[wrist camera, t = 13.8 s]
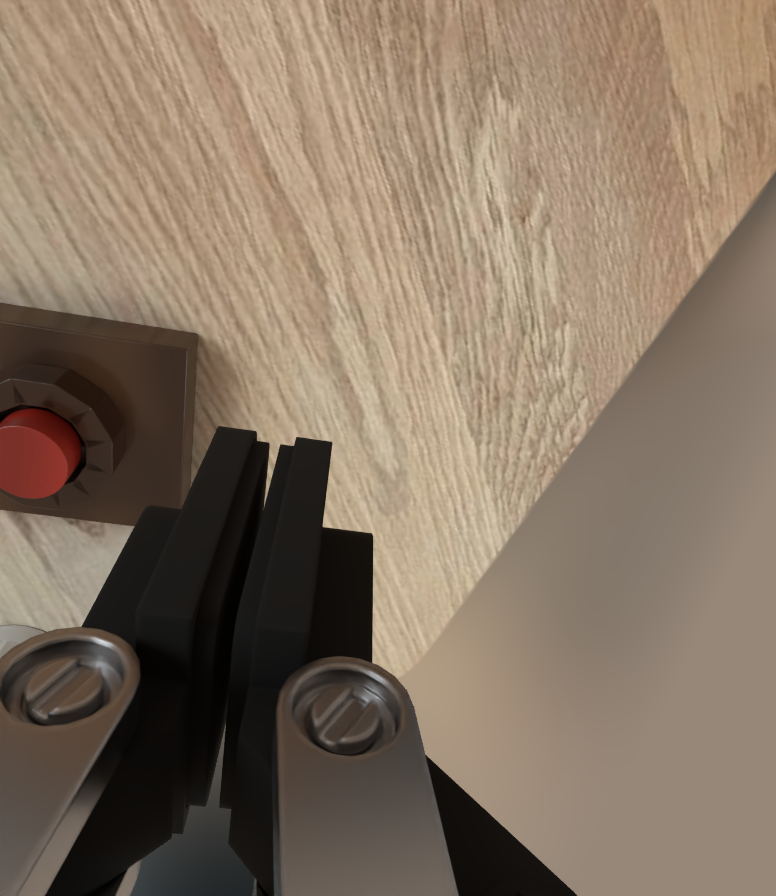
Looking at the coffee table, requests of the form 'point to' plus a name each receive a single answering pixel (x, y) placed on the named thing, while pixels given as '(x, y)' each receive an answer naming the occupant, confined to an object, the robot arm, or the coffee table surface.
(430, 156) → the coffee table surface
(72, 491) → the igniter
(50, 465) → the button
